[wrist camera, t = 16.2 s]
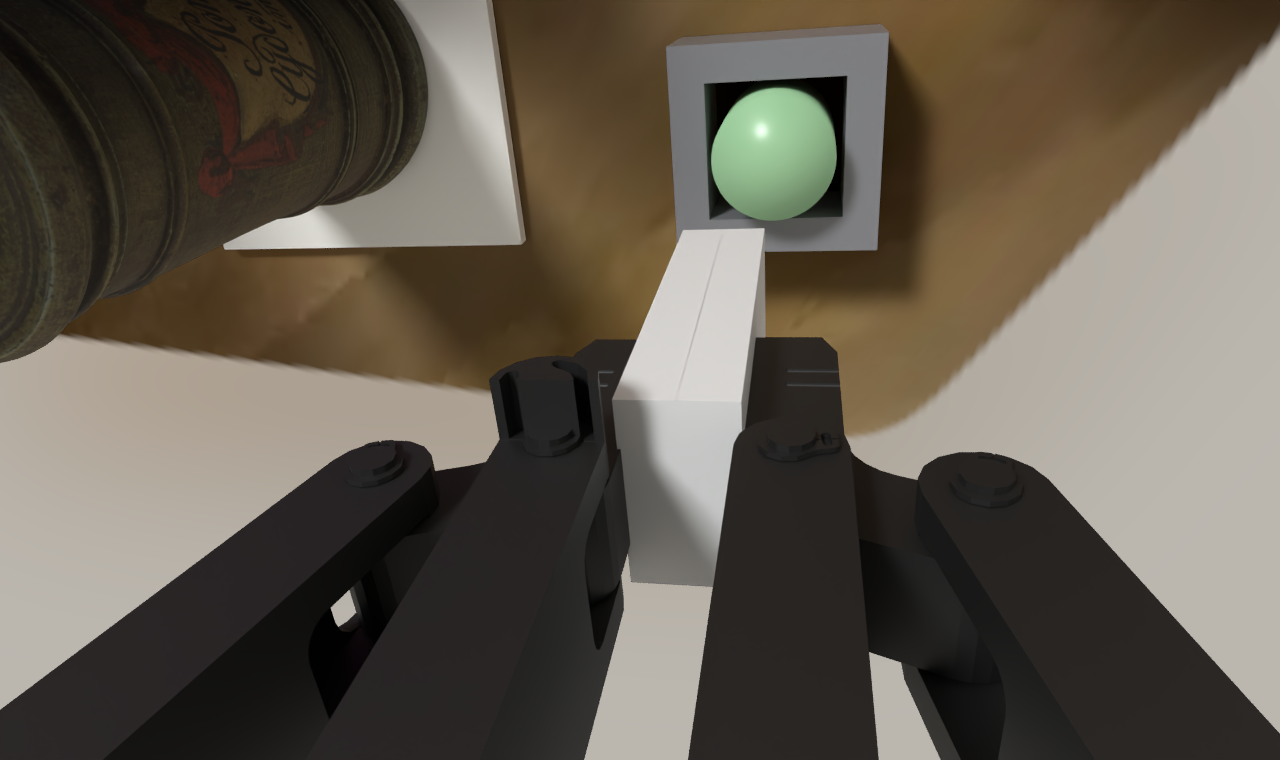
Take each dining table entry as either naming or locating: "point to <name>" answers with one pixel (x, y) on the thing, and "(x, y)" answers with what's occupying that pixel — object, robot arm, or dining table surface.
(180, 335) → the dining table surface
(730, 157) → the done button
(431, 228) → the paper sheet
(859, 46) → the button housing
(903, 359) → the dining table surface
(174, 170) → the container
